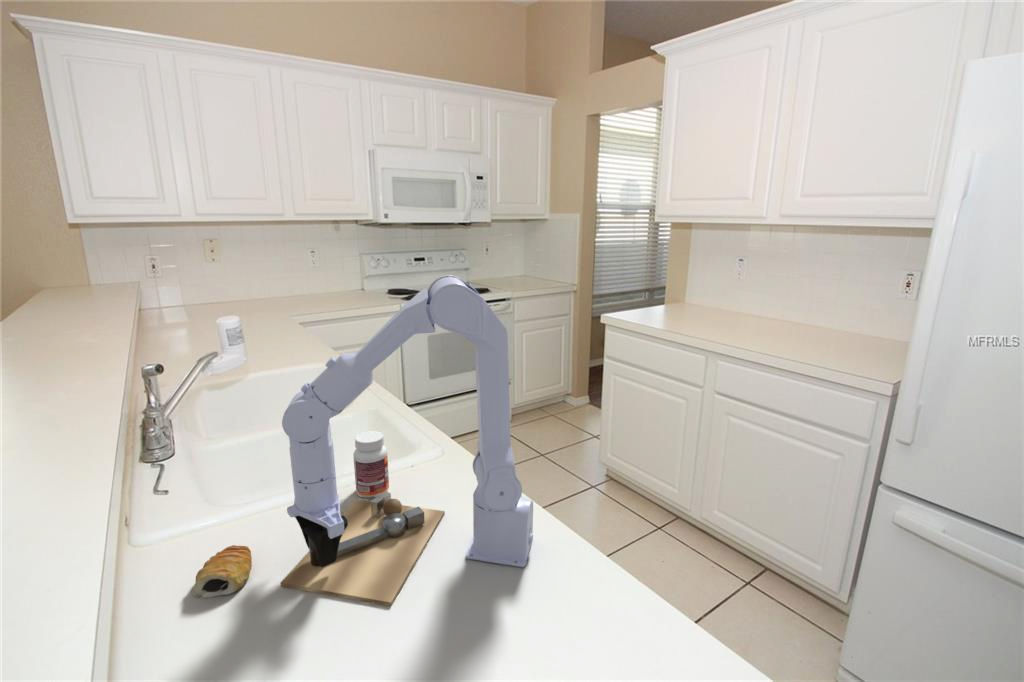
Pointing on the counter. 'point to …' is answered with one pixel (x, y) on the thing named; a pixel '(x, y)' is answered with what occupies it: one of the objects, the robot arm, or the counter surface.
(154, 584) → the counter surface
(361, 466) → the pill bottle
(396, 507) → the brown ball
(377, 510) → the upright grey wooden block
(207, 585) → the pastry
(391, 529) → the lever
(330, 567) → the board
